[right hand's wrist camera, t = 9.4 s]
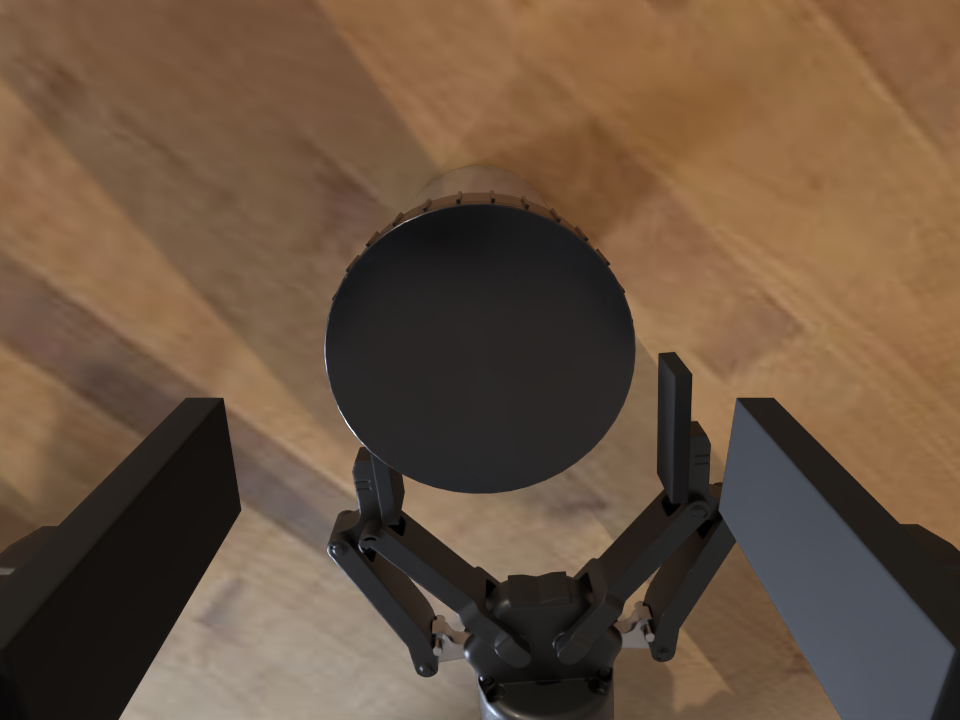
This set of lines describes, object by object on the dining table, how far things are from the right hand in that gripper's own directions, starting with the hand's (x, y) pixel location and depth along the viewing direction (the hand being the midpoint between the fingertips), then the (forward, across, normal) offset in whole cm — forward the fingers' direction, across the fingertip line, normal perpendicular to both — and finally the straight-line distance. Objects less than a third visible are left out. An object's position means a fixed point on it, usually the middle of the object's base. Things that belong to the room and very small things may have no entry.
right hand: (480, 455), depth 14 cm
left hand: (+15, -2, +4) cm, 16 cm away
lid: (+6, 0, 0) cm, 6 cm away
